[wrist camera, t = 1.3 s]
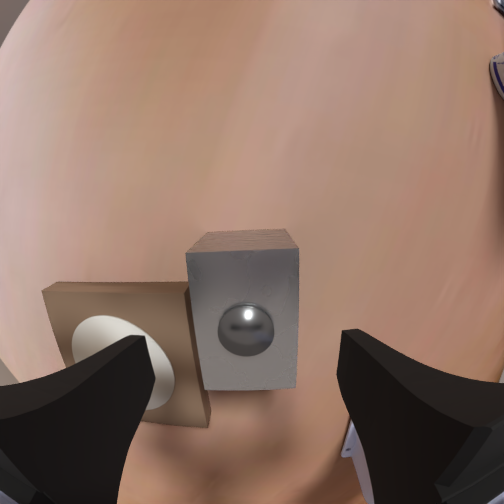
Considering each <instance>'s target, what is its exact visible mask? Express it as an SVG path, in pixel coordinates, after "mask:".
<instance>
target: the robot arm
mask: <svg viewBox="0 0 504 504" xmlns="http://www.w3.org/2000/svg"><path fill="white" fill-rule="evenodd" d="M336 375H337V379H338V383H339V387H340V391H341V395H342V398H343V400H344V403H345V405H346V408H347V410H348V413H349V415H350V417H351V421H350V425H349V428H348V432H347V435H346V439H345V442H344V445H343V449H342V452H341V456H342V457H344V458H345V457H352V460H353V463H354V466H355V470H356V473H357V476H358V480H359V483H360V486H361V490H362V493H363V496H364V499H365V501H366V502H367V503H368V504H504V383H494V382H485V381H479V380H473V379H468V378H464V377H460V376H456V375H452V374H449V373H446V372H443V371H440V370H437V369H434V368H432V367H429V366H427V365H424V364H422V363H420V362H418V361H416V360H414V359H411V358H409V357H407V356H405V355H403V354H402V353H400V352H398V351H396V350H394V349H393V348H391V347H389V346H387V345H386V344H384V343H382V342H381V341H379V340H377V339H375V338H374V337H372V336H370V335H369V334H367V333H365V332H363V331H361V330H359V329H350V330H342V334H341V343H340V352H339V359H338V367H337V374H336ZM155 380H156V377H155V373H154V370H153V366H152V362H151V358H150V355H149V351H148V346H147V342H146V338H145V335H129V336H126V337H124V338H122V339H120V340H118V341H116V342H115V343H113V344H111V345H109V346H107V347H106V348H104V349H102V350H100V351H99V352H97V353H95V354H93V355H91V356H89V357H88V358H86V359H84V360H82V361H80V362H78V363H76V364H74V365H72V366H70V367H67V368H65V369H63V370H60V371H58V372H55V373H53V374H50V375H47V376H44V377H41V378H38V379H34V380H30V381H26V382H23V383H18V384H12V385H6V386H0V504H117V498H118V491H119V486H120V481H121V476H122V472H123V468H124V464H125V460H126V456H127V453H128V449H129V447H130V444H131V441H132V439H133V437H134V435H135V432H136V430H137V428H138V426H139V423H140V421H141V419H142V417H143V414H144V412H145V410H146V408H147V405H148V403H149V401H150V398H151V394H152V391H153V387H154V383H155Z"/></svg>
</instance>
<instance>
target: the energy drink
mask: <svg viewBox="0 0 504 504" xmlns="http://www.w3.org/2000/svg"><path fill="white" fill-rule="evenodd" d="M490 72H491V76H492V79H493V82H494V84H495V86H496V88H497V90H498V92H499V94H500V95H501V97H502V98H503V100H504V52H503V53H501V54H498V55H496V56H494V57H492V59H491V62H490Z"/></svg>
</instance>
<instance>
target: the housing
mask: <svg viewBox="0 0 504 504" xmlns="http://www.w3.org/2000/svg"><path fill="white" fill-rule="evenodd" d="M186 263H187V272H188V281H189V290H190V298H191V306H192V314H193V321H194V328H195V335H196V341H197V348H198V354H199V360H200V366H201V372H202V378H203V383H204V389H205V390H272V389H289V388H296V374H297V351H298V318H299V248H298V246H297V245H296V243H295V242H294V241H293V239H292V238H291V236H290V235H289V234H288V232H287V231H286V229H263V230H239V231H218V232H207V233H206V234H205V235H204V236H203V237H202V238H201V239H200V240H199V241H197V242H196V243H195V244H194V245H193V246H192V247H191V248H190V249H189V250H188V251H187V252H186Z"/></svg>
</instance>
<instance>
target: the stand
mask: <svg viewBox="0 0 504 504" xmlns="http://www.w3.org/2000/svg"><path fill="white" fill-rule="evenodd" d="M42 294H43V298H44V302H45V305H46V309H47V313H48V316H49V320H50V323H51V326H52V329H53V332H54V335H55V338H56V341H57V344H58V347H59V350H60V353H61V355H62V358H63V361H64V363H65V366H66V368H67V367H70V366H72V365H74V364H76V363H78V362H80V361H82V360H84V359H86V358H88V357H89V356H91V355H93V354H95V353H97V352H99V351H100V350H102V349H104V348H106V347H107V346H109V345H111V344H113V343H115V342H116V341H118V340H120V339H122V338H124V337H126V336H129V335H145V338H146V342H147V346H148V351H149V355H150V358H151V362H152V366H153V370H154V373H155V377H156V380H155V383H154V387H153V391H152V394H151V398H150V401H149V403H148V405H147V408H146V410H145V412H144V414H143V417H142V419H141V421H145V422H151V423H159V424H167V425H176V426H187V427H200V428H208V425H209V419H210V414H211V407H210V402H209V397H208V391H207V390H205V389H204V383H203V378H202V372H201V366H200V360H199V354H198V348H197V341H196V335H195V328H194V321H193V314H192V306H191V298H190V290H189V282H56V283H54V284H52V285H51V286H49V287H47V288H45V289H44V290H42Z"/></svg>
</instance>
